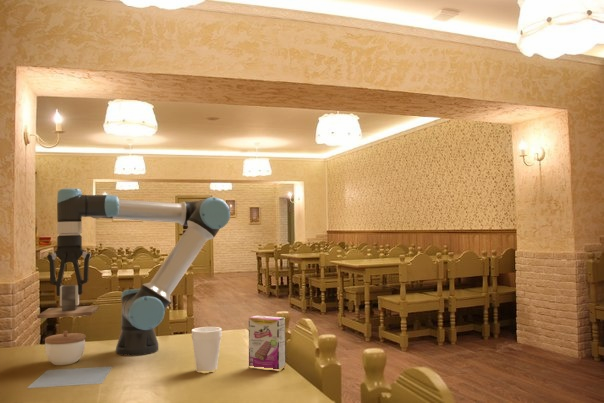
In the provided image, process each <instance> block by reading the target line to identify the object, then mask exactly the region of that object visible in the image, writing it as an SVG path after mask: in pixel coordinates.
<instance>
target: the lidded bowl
mask: <svg viewBox="0 0 604 403" xmlns="http://www.w3.org/2000/svg"><path fill="white" fill-rule="evenodd" d="M68 332H69V331H68V330H63V333H59V334H53V335H49V336H47V337H45V338H44V343H45V344H44V346H45V347H44V348H45V354H46V357H47V359H48V361H49V362H50V363H51V364H52V365H54V366H55V365H56V366H66V365H72V364H75V363H77V362H78V361H79V360H80V359H81V358H82V356H83V354H84V351H85V346H86V336H87V335H86V334H84V333H80V332H79V333H77V332H75V333H73V332H71V333H68Z"/></svg>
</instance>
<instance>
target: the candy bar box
mask: <svg viewBox="0 0 604 403" xmlns="http://www.w3.org/2000/svg"><path fill="white" fill-rule="evenodd" d="M249 366H254V367H264V368H273V369H280V368H282V367H283V366H285V367H286V318H285V317H280V316H279V317H278V316H269V315H268V316H267V315H252V316H250V317H248V367H249Z"/></svg>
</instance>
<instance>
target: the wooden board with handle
mask: <svg viewBox="0 0 604 403" xmlns="http://www.w3.org/2000/svg"><path fill="white" fill-rule="evenodd" d="M76 285H77V284H73V285H72V284H67V285H65V284H64V286H63V285H61V286H62V306H60V307H49V308H47V309H45V310H44V311H42V312H40V313H39V314H37V316H36V318H37V319H51V318H66V317H68V318H69V317H83V316H93V315H94V313H96V311H97V310H98V309H99V305H97V304H96V305H86V306H85V305H84V306H83V305H82V306H81V305H75V286H76Z"/></svg>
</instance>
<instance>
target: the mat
mask: <svg viewBox="0 0 604 403" xmlns="http://www.w3.org/2000/svg"><path fill="white" fill-rule="evenodd" d="M113 368H114V366H100V367H99V366H98V367H97V366H96V367H82V368H81V367H79V368H64V369H63V368H62V369H61V368H60V369H46V371H44V372H43V373H42V374H40V376H39V377H38V378H37V379H36V380H34V381H33V382H31V384H29V385H28V387H27V389H36V388H37V389H38V388H54V387H68V386H83V385H84V386H85V385H86V386H87V385H100V384H103V383H104V381H105V380H106V378H107V376H108V375H109V374H110V372H111V370H112V369H113Z"/></svg>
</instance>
